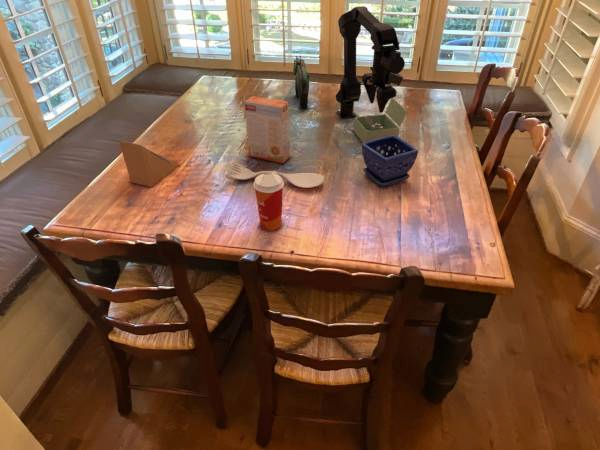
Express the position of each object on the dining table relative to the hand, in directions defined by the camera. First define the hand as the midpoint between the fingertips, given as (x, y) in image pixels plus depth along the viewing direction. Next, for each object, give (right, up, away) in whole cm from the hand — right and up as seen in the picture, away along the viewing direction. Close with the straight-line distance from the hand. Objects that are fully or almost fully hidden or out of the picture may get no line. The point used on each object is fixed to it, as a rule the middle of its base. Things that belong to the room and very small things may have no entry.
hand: (376, 107), depth 162 cm
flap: (+8, -1, +3) cm, 8 cm away
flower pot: (0, -28, -17) cm, 33 cm away
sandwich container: (-78, -26, -14) cm, 84 cm away
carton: (+1, -9, +7) cm, 12 cm away
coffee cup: (-37, -44, -37) cm, 68 cm away
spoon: (-37, -30, -18) cm, 50 cm away
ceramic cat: (-28, +12, +36) cm, 47 cm away
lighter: (0, -9, +7) cm, 12 cm away
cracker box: (-40, -19, -5) cm, 44 cm away
